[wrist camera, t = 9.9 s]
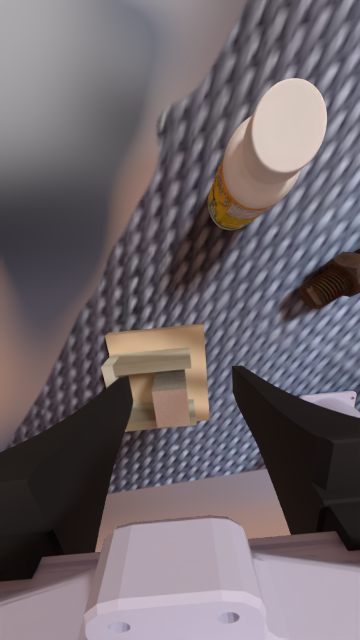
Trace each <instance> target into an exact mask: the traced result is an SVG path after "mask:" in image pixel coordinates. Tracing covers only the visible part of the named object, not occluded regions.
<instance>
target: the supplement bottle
mask: <svg viewBox="0 0 360 640" xmlns="http://www.w3.org/2000/svg"><path fill="white" fill-rule="evenodd" d="M326 124H327V113H326V107H325V103H324V100H323V98H322V96H321V94H320V92H319V91H318V90H317V89H316V88H315V87H314V85H312V84H311V83H310V82H308V81H305V80H303V79H297V78H291V79H287V80H283V81H281V82H279V83H277V84H275V85H274V86H273V87H271V88H270V89H269V90H268V91H267V92H266V94H265V95H264V96H263V97H262V99H261V100H260V102H259V103H258V105H257V107H256V109H255V111H254V113H253V115H252V116H251V117H249V118H248V119H247V120H245V121H244V122H243V123H242V124H241V125H240V126H239V127H238V128H237V130H236V131H235V132H234V134H233V136H232V137H231V139H230V141H229V143H228V146H227V148H226V151H225V153H224V156H223V158H222V161H221V163H220V166H219V169H218V171H217V174H216V177H215V179H214V182H213V184H212V187H211V190H210V193H209V197H208V209H209V212H210V215H211V218H212V219H213V221H214V222H215V224H216V225H217V226H219V227H220V228H222V229H225V230H237V229H240V228H242V227H244V226H246V225H247V224H249V223H250V222H251V221H253V220H254V219H256V218H257V217H258V216H260V215H261V214H262V213H264V212H265V211H266V210H268V209H269V208H270V207H272V206H273V205H274V204H276V203H277V202H278V201H280V200H281V199H282V198H283V197H284V196H285V195H286V194H287V193H288V192H289V191H290V190H291V188H292V187H293V185H294V184H295V182H296V180H297V178H298V176H299V174H300V171H301V169H302V168H303V167H304V166H305V165H307V164H308V163H309V162H310V161H311V159H312V158H313V157H314V156H315V154H316V153H317V151H318V149H319V148H320V146H321V143H322V141H323V138H324V135H325V131H326Z"/></svg>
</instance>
